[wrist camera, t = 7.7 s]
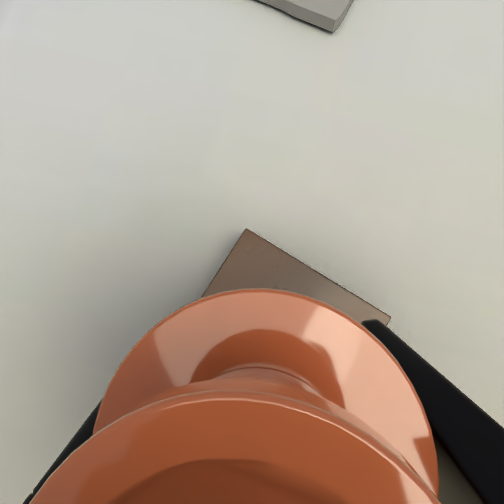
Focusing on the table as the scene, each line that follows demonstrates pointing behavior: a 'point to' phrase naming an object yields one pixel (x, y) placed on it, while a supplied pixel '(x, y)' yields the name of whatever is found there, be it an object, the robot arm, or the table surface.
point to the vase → (254, 413)
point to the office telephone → (315, 11)
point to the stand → (284, 277)
